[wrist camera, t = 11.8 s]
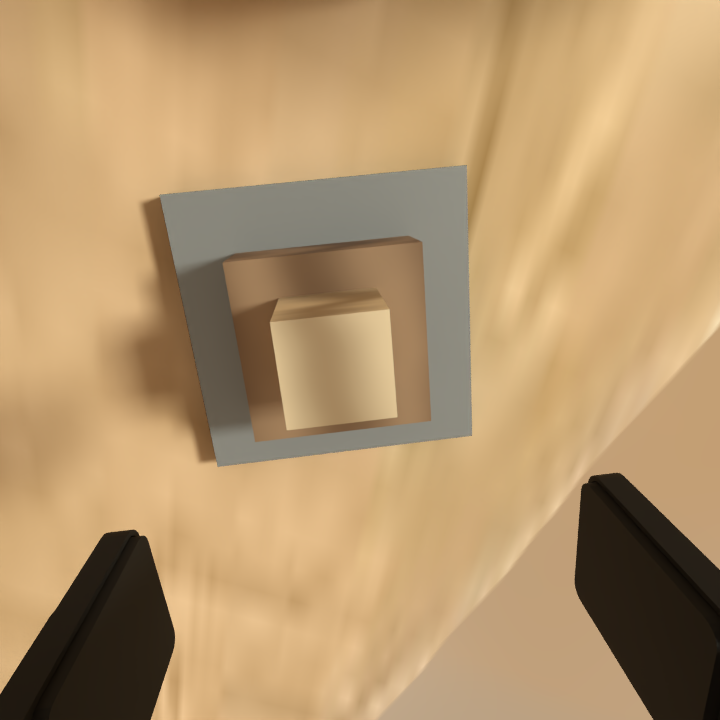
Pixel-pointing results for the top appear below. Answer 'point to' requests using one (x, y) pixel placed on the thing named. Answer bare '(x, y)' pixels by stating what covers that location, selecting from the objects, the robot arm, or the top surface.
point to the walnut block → (325, 275)
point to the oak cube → (334, 358)
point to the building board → (315, 227)
